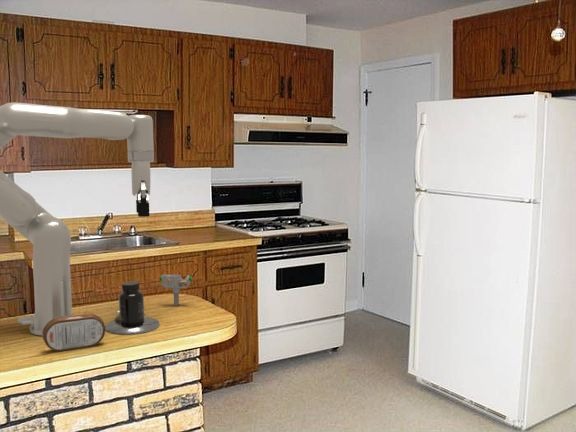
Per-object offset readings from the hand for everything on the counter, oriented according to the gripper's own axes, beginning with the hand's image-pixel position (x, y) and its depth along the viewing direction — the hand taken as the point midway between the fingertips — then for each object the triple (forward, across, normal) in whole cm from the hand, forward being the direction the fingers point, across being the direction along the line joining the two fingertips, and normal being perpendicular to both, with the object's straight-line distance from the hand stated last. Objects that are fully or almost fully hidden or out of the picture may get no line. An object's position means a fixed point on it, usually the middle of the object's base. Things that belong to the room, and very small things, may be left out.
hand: (142, 214), depth 174 cm
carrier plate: (+31, +11, -4) cm, 33 cm away
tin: (+31, +25, -19) cm, 44 cm away
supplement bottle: (+30, +11, -5) cm, 33 cm away
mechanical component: (+31, -8, +10) cm, 34 cm away
